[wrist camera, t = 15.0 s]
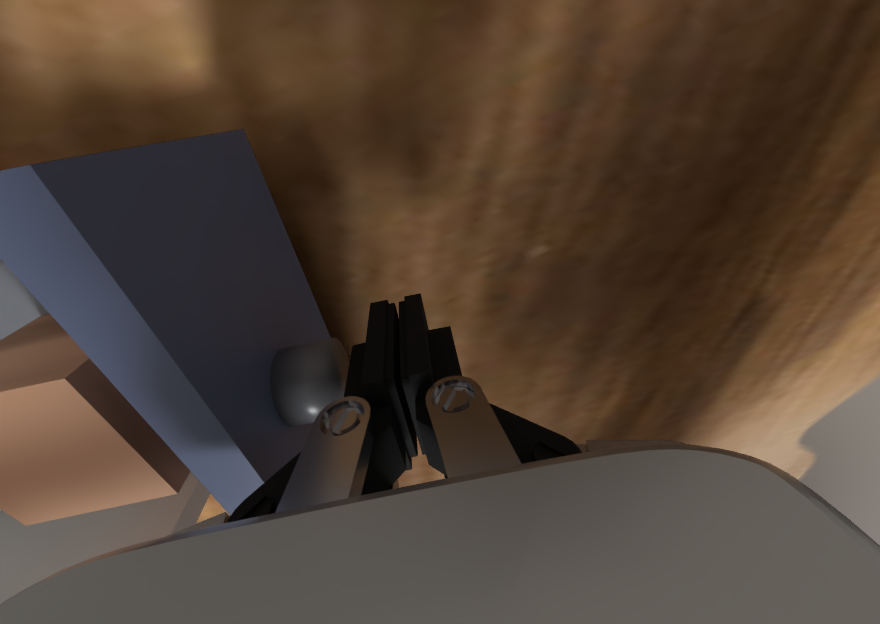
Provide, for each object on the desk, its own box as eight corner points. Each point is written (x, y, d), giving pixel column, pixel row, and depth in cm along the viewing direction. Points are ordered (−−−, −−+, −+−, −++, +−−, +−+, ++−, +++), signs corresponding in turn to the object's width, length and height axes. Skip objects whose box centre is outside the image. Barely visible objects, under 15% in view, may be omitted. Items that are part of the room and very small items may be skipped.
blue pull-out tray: (292, 118, 11) (146, 139, 5) (395, 414, 18) (395, 587, 12) (-375, 257, 11) (-1454, 473, 5) (-13, 499, 18) (-241, 720, 12)
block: (41, 315, 13) (-134, 419, 9) (173, 287, 13) (64, 378, 9) (127, 409, 16) (25, 525, 11) (238, 386, 16) (177, 493, 11)
